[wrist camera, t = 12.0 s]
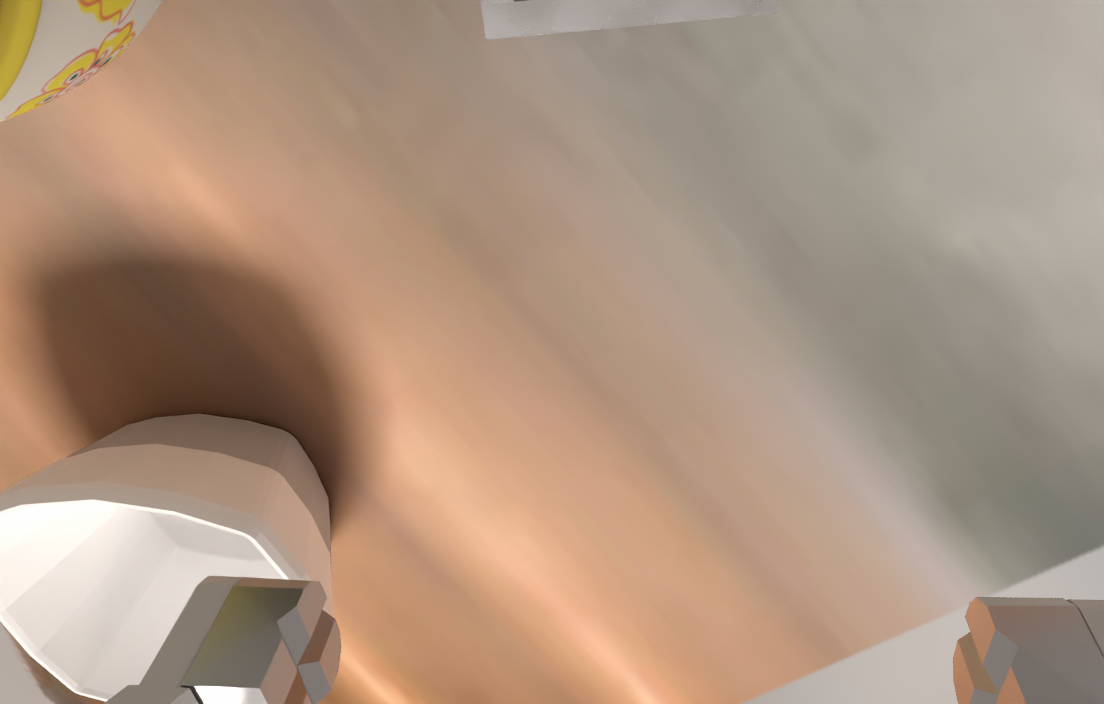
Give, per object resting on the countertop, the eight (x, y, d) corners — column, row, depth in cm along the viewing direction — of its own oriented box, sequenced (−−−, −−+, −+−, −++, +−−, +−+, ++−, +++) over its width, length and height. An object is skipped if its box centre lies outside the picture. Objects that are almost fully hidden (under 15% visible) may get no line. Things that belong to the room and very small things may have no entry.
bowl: (349, 374, 42) (285, 503, 35) (396, 595, 52) (355, 733, 45) (32, 365, 44) (-97, 487, 36) (136, 581, 54) (53, 712, 46)
